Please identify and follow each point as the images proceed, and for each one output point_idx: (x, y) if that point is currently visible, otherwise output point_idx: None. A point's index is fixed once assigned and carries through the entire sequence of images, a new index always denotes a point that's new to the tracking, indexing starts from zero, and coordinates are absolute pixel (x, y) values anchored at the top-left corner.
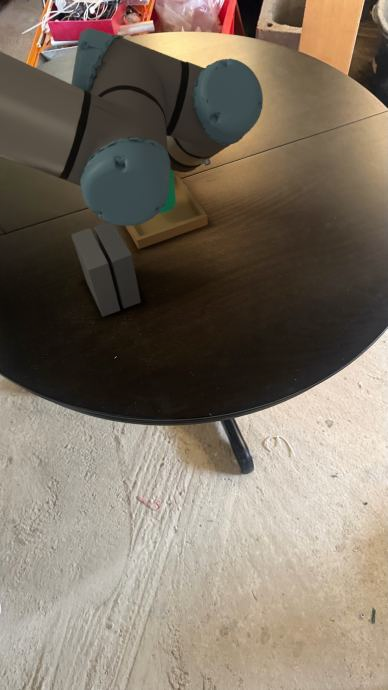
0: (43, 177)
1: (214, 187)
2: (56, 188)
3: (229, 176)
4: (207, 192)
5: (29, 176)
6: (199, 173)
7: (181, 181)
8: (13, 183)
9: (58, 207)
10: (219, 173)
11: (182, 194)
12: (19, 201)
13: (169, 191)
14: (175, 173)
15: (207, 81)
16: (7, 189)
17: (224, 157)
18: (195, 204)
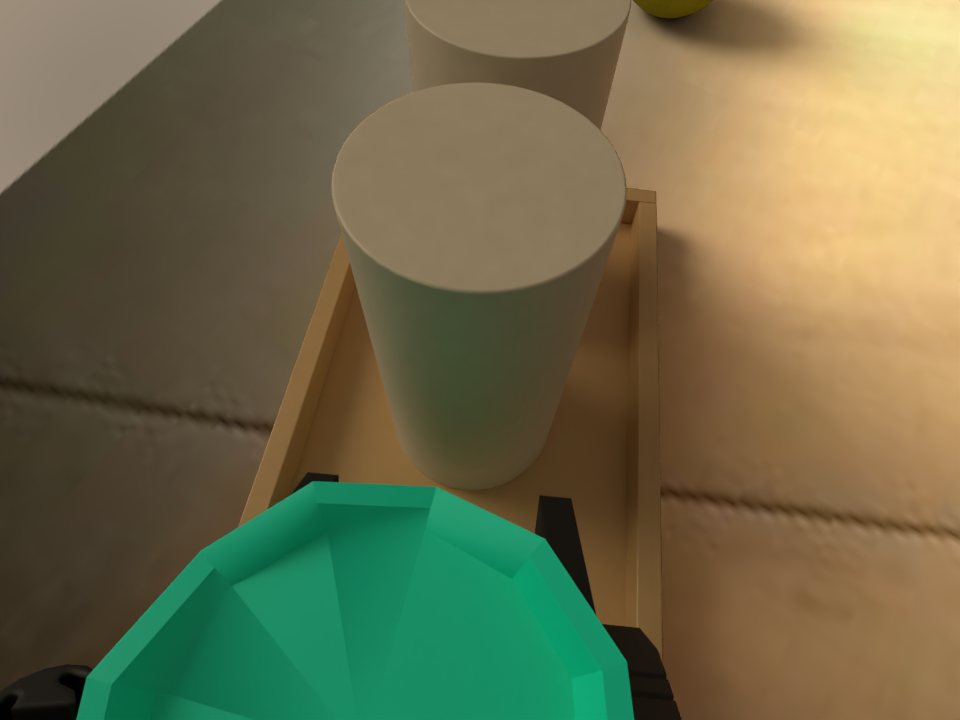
0: (187, 172)
1: (822, 675)
2: (177, 242)
3: (940, 641)
4: (766, 690)
5: (155, 146)
6: (780, 514)
7: (654, 570)
8: (87, 146)
9: (96, 337)
10: (888, 581)
11: None
12: (22, 228)
13: None
14: (653, 486)
15: None
16: (47, 159)
17: (952, 483)
18: None
